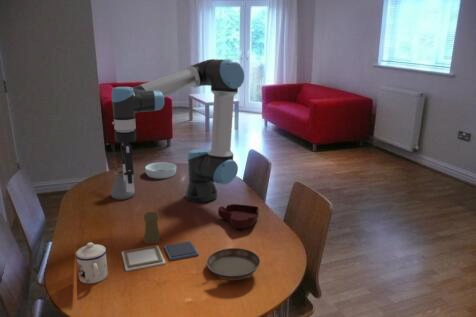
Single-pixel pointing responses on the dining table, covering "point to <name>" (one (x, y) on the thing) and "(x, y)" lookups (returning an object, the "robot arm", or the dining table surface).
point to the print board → (142, 258)
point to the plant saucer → (233, 263)
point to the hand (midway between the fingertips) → (129, 185)
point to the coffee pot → (120, 186)
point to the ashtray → (239, 215)
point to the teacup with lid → (92, 263)
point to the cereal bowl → (154, 167)
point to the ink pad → (181, 250)
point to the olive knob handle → (151, 228)
